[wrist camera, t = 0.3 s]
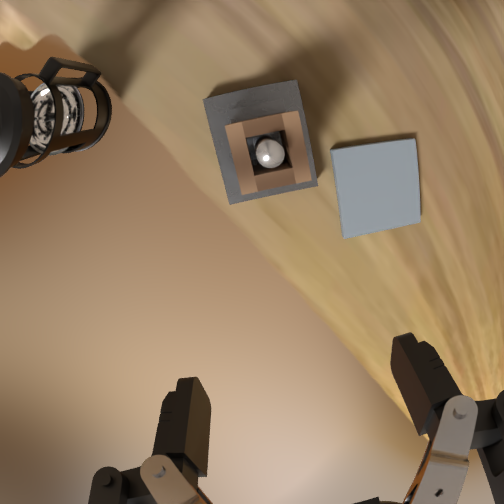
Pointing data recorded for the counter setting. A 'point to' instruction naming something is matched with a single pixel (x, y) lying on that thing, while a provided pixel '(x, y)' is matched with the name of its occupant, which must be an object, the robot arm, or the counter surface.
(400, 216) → the mat
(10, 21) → the counter surface
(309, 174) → the collar
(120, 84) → the counter surface
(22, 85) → the french press
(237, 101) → the grey block-shaped fixture
